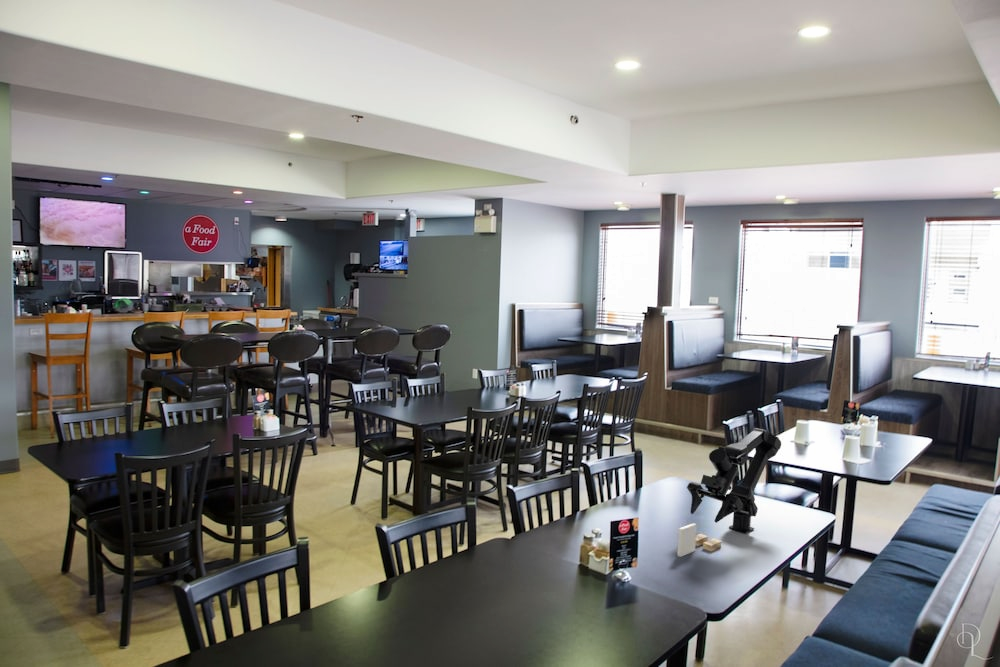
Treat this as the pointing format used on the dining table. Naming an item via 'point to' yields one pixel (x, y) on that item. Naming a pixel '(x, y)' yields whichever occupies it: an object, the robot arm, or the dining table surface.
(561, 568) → the dining table surface
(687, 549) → the white board
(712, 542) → the oak holder
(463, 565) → the dining table surface
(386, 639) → the dining table surface
